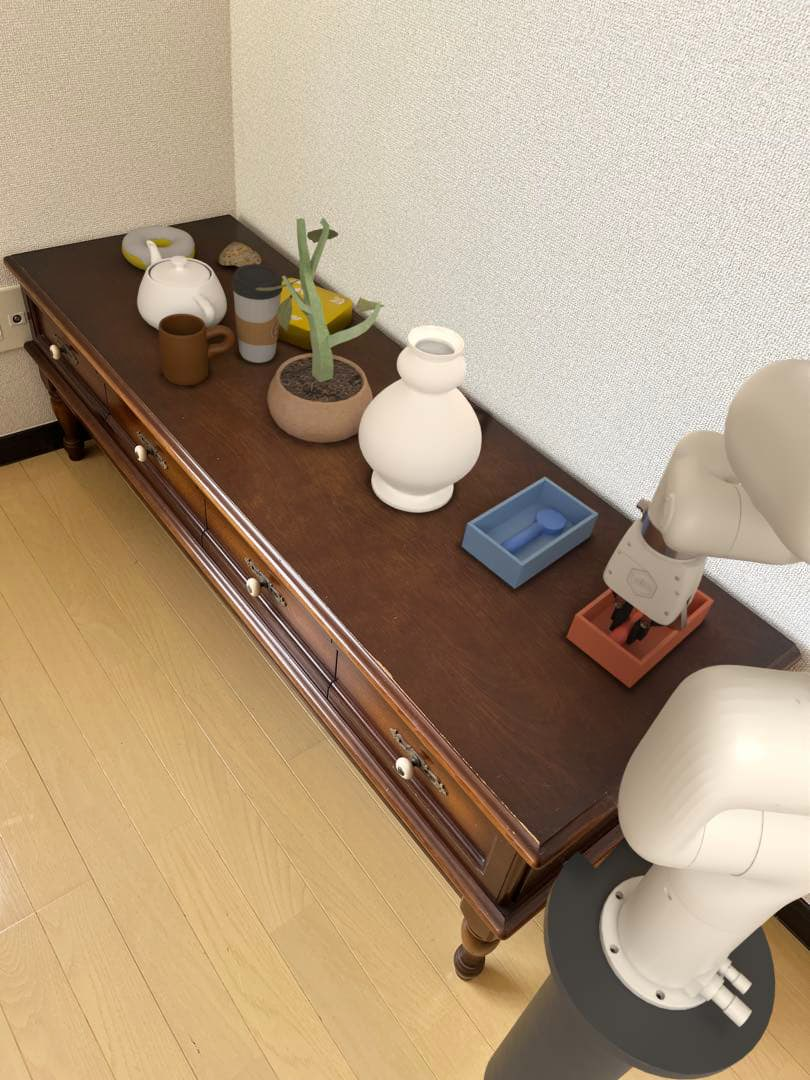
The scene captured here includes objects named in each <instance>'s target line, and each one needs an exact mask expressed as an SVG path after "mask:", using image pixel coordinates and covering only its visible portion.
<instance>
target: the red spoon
mask: <svg viewBox="0 0 810 1080" xmlns="http://www.w3.org/2000/svg"><path fill="white" fill-rule="evenodd" d="M643 614H644V613H642V612H641V611H640V610H637V611H636V612H635V613H634V614H632V615H631V616H630V617H629V618H628V619H626V620H625V621H624V622H623V623H622V624H620V625H619V626H618V627H617V628H616V629H614V630H613V631H612V632H611V633H610V634H608V636H609V637H610V638H611V639H613V640H614V641H615V642H617V643H618V644H619V645H620V646H621V645H622V644H623V643H624V642H625V641H626V640H627V637H628V635H629V633H630V631H631V629H632V627H633V625H634V623H635V622H636V621H638V620H639V619H640V618H641V617H642V616H643Z"/></svg>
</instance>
